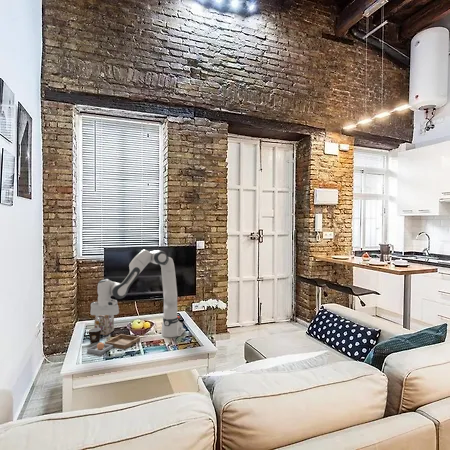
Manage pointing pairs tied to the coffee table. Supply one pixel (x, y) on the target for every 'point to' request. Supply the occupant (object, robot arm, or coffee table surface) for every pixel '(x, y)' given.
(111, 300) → the robot arm
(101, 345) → the ball
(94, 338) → the coffee mug
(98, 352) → the tray
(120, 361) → the coffee table surface
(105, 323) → the decorative jar
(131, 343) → the brown wooden tray
